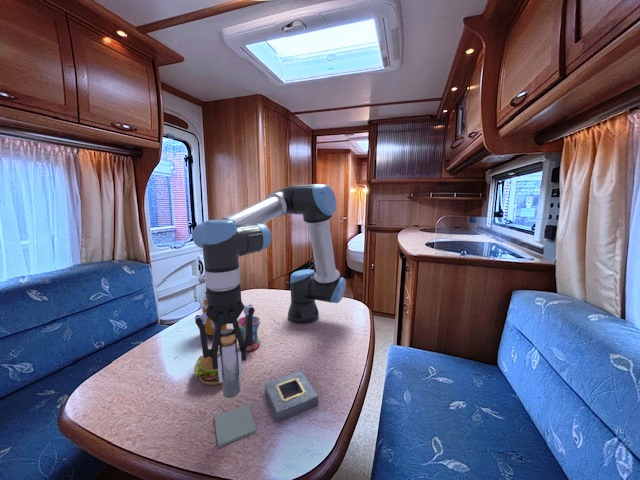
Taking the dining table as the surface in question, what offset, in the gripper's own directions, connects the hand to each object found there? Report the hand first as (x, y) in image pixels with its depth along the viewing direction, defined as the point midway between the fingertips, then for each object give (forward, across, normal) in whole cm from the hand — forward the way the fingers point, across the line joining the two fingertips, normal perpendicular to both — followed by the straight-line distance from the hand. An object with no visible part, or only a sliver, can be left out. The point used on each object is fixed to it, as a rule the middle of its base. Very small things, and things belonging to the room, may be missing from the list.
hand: (230, 375), depth 64 cm
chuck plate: (+14, -16, -2) cm, 22 cm away
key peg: (+5, 0, 0) cm, 5 cm away
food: (+15, +2, -24) cm, 28 cm away
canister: (+14, 0, -52) cm, 54 cm away
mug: (+14, -12, -36) cm, 40 cm away
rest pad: (+14, 0, 0) cm, 14 cm away
